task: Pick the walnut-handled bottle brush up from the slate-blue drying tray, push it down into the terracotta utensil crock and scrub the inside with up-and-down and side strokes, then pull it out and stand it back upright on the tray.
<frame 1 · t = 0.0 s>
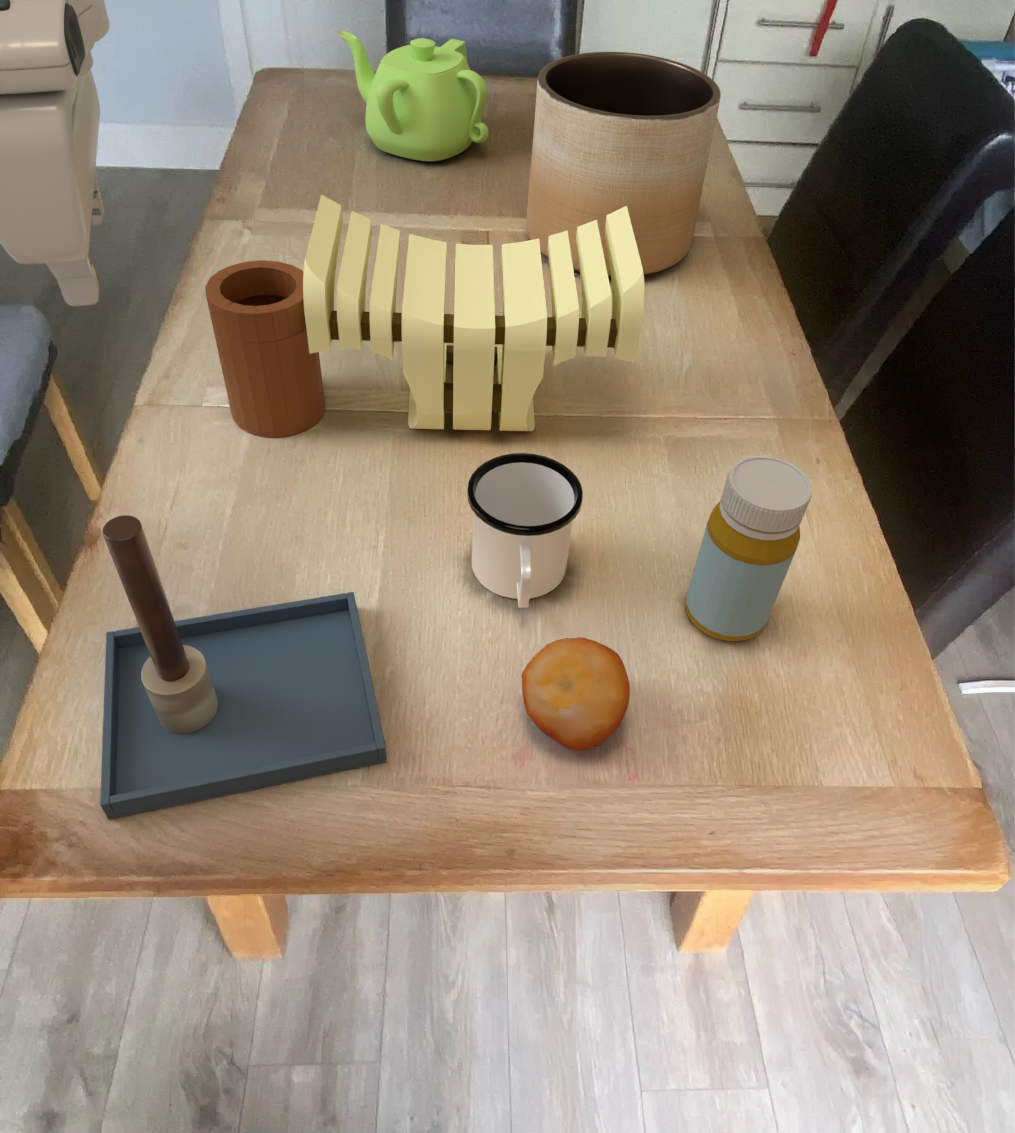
hand: (87, 258, 54), 30 cm above the table, tool pointing down, fingers open, 8 cm apart
teapot: (415, 142, 141), on the table
planter: (607, 243, 122), on the table
drying tray: (244, 702, 69), on the table
slatted curved stool: (471, 398, 96), on the table
mug: (519, 577, 79), on the table
fruit: (571, 718, 69), on the table
bottle brush: (188, 709, 67), resting on drying tray
terracotta utensil crock: (278, 408, 93), on the table
bottle: (723, 615, 77), on the table
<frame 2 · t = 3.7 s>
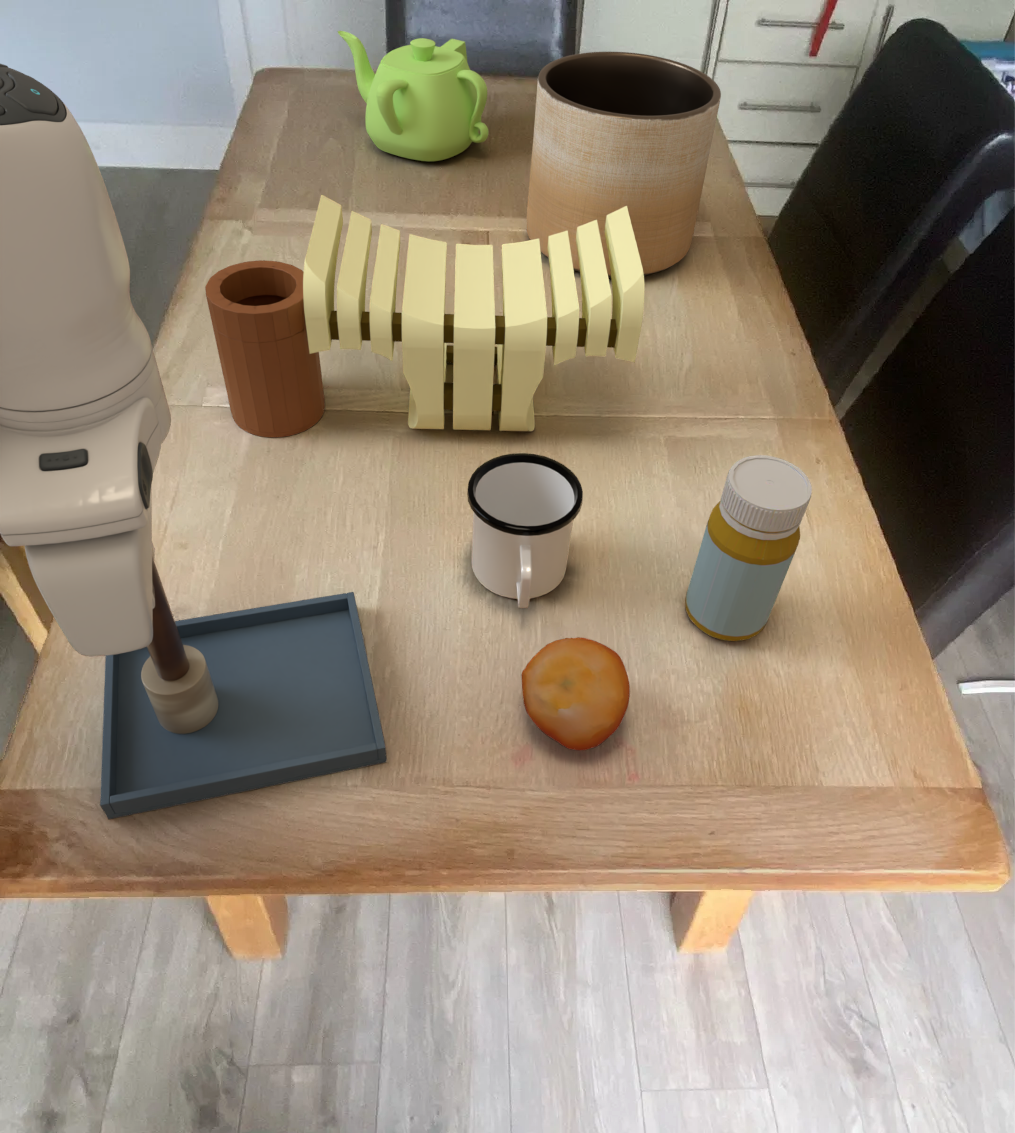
hand: (141, 582, 57), 15 cm above the table, tool pointing down, fingers closed on bottle brush, 2 cm apart
bottle brush: (188, 709, 67), point 1 cm above the table, touching drying tray, gripper
everything else where it was.
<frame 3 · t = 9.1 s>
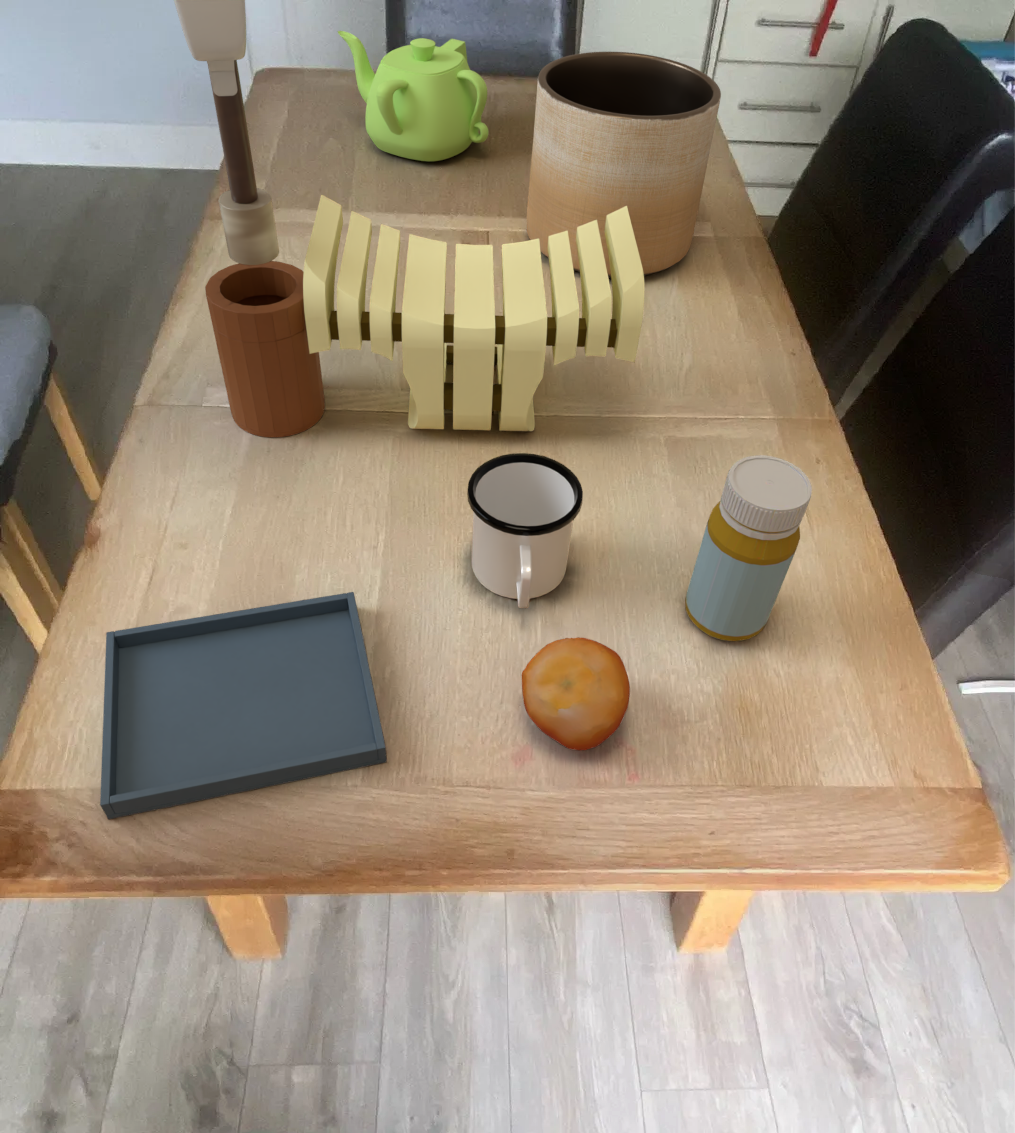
hand: (224, 84, 70), 31 cm above the table, tool pointing down, fingers closed on bottle brush, 2 cm apart
bottle brush: (254, 252, 81), point 17 cm above the table, touching gripper
everything else where it was.
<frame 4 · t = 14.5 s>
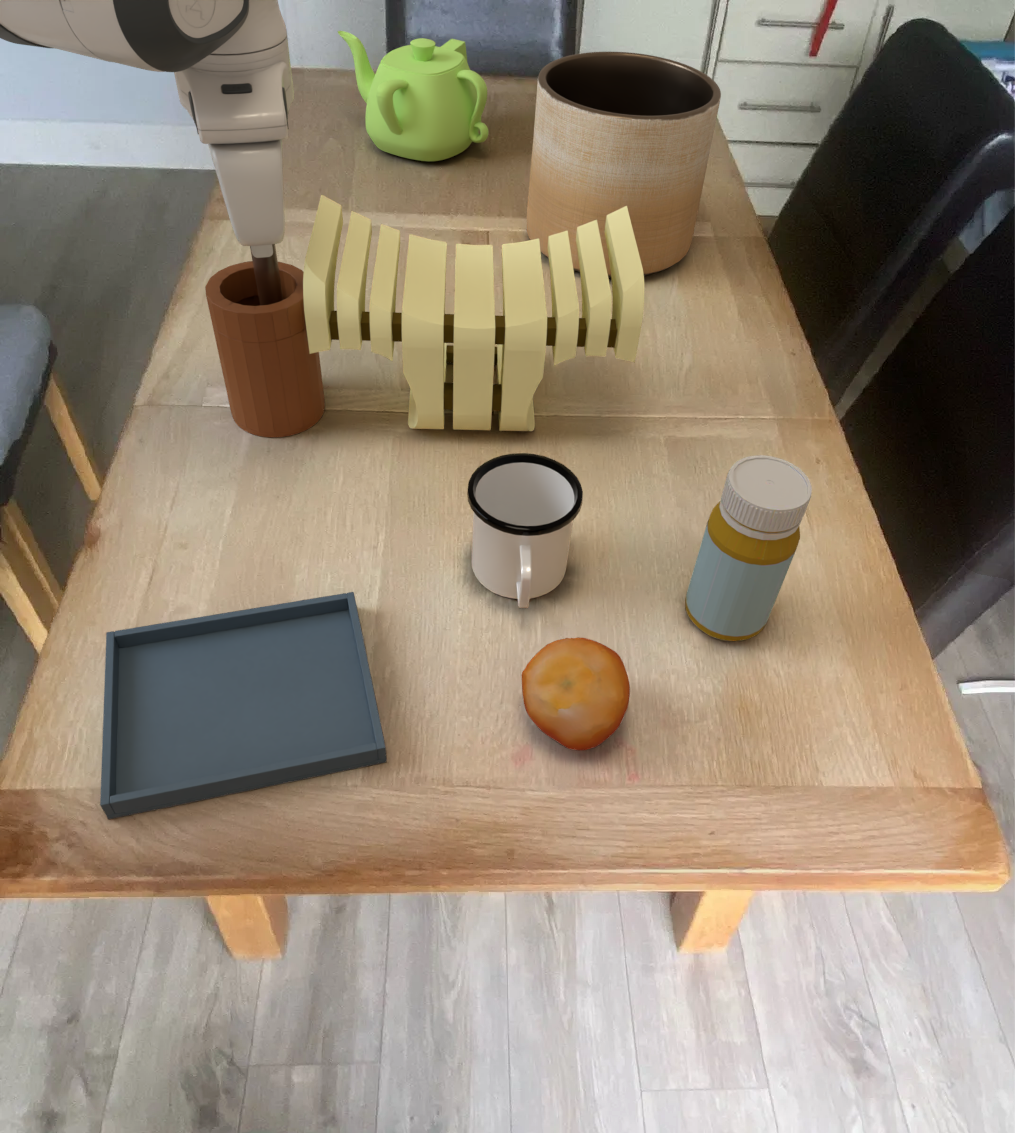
hand: (261, 243, 80), 18 cm above the table, tool pointing down, fingers closed on bottle brush, 2 cm apart
bottle brush: (283, 375, 91), point 4 cm above the table, touching gripper
everything else where it was.
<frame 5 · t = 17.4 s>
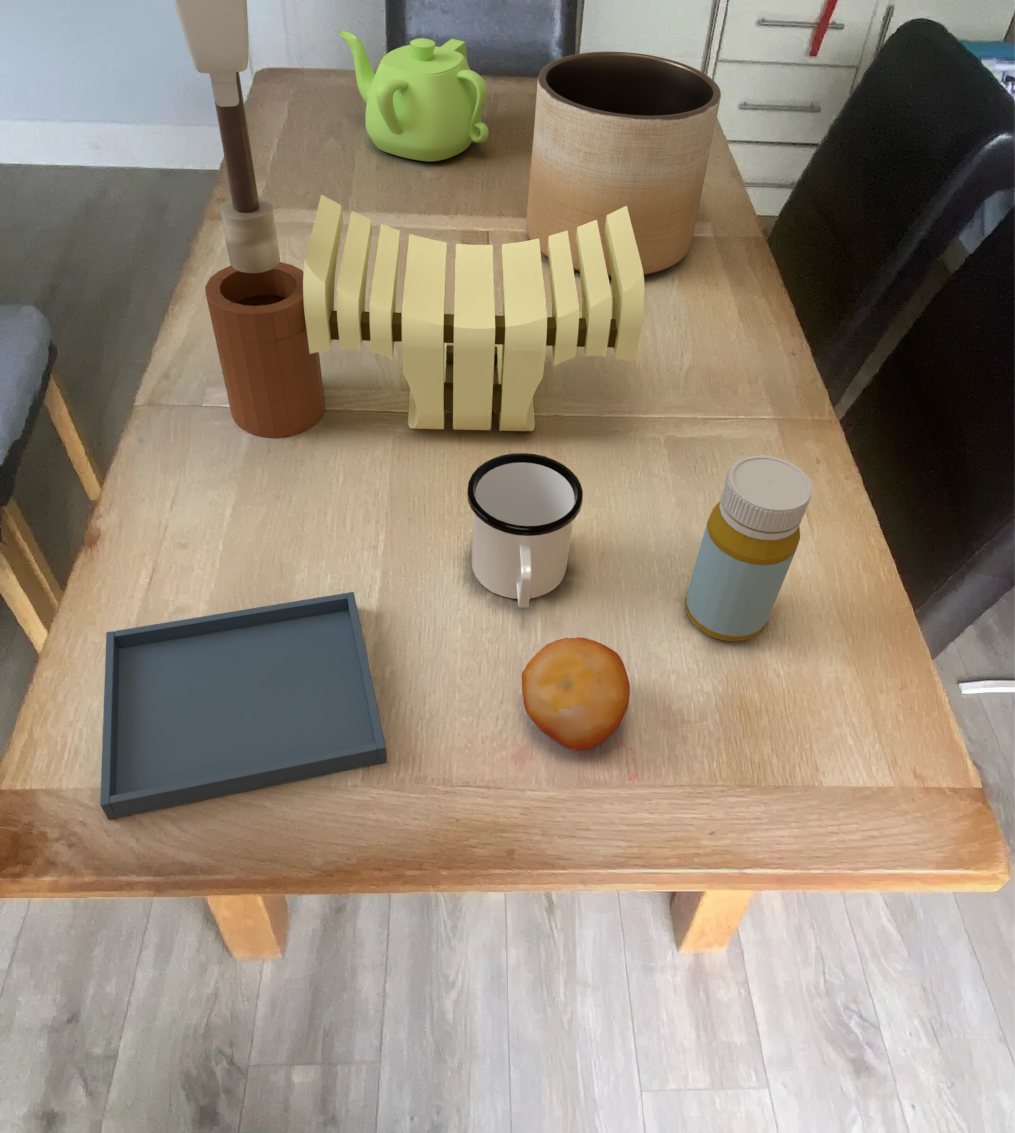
hand: (226, 94, 71), 31 cm above the table, tool pointing down, fingers closed on bottle brush, 2 cm apart
bottle brush: (255, 261, 81), point 16 cm above the table, touching gripper
everything else where it was.
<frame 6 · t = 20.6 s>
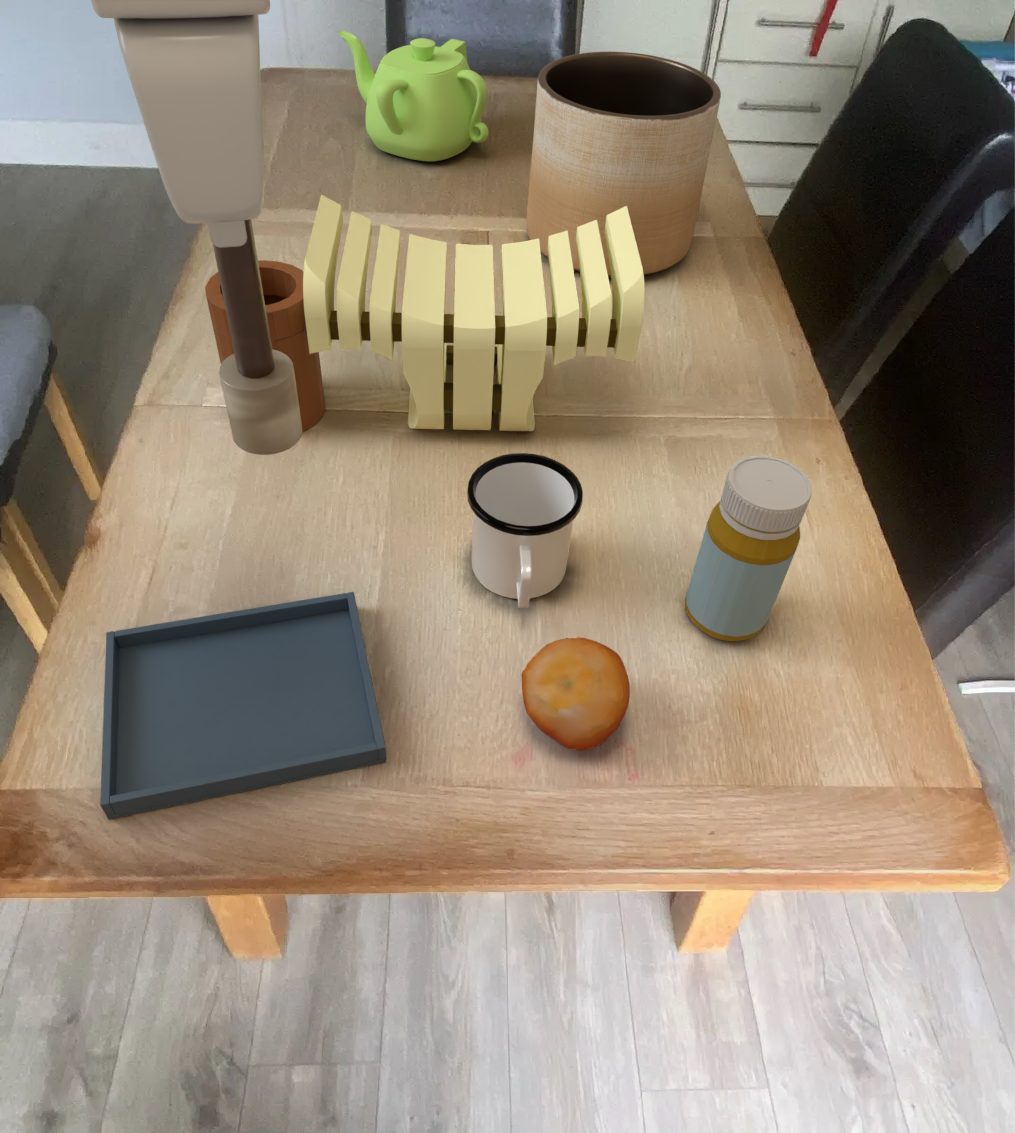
hand: (227, 224, 48), 35 cm above the table, tool pointing down, fingers closed on bottle brush, 2 cm apart
bottle brush: (267, 433, 58), point 21 cm above the table, touching gripper
everything else where it was.
when the fingers open (14 cm above the table, at t = 25.5 s): bottle brush stays where it is, resting on drying tray.
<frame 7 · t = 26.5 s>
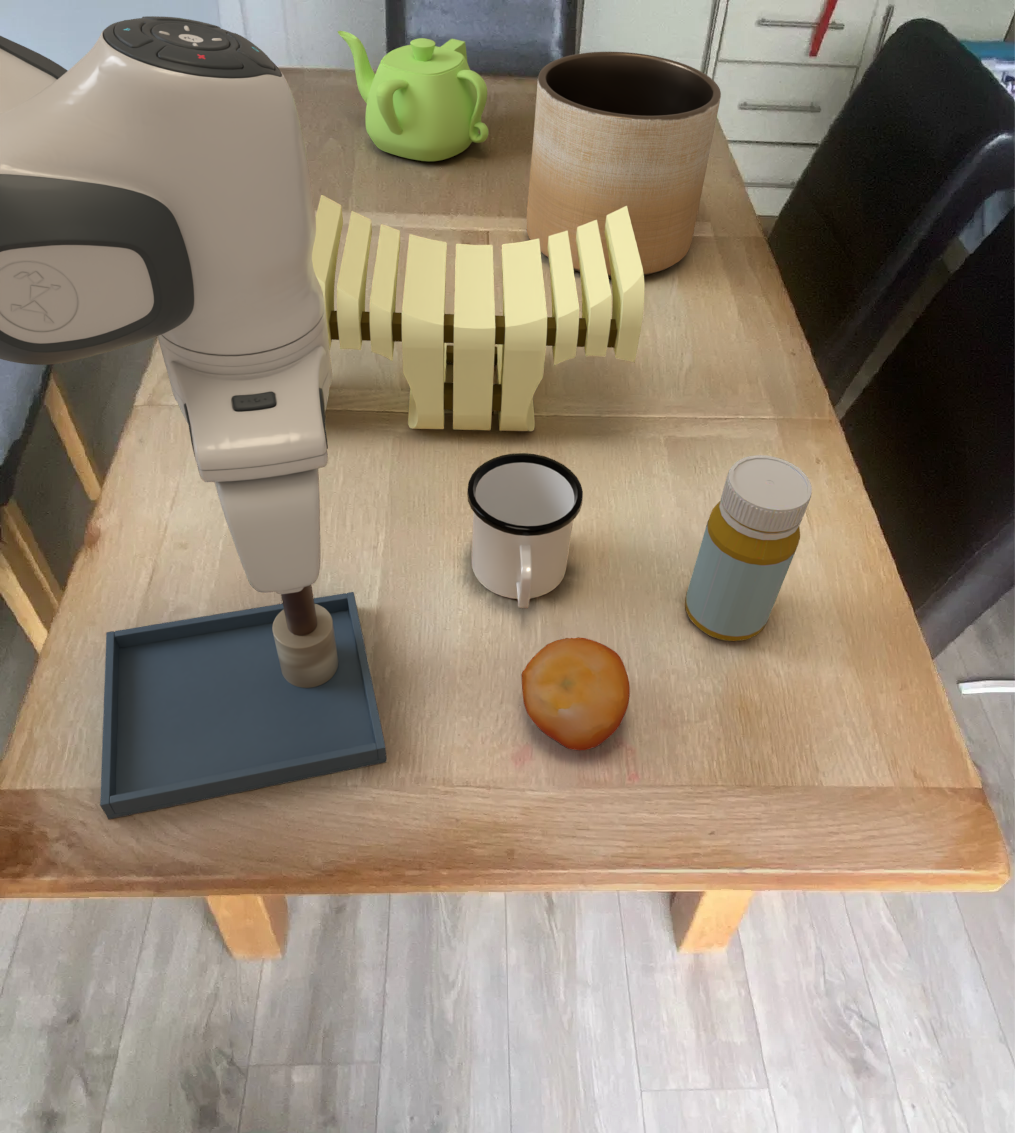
hand: (281, 533, 60), 15 cm above the table, tool pointing down, fingers open, 8 cm apart
bottle brush: (309, 665, 71), resting on drying tray
everything else where it was.
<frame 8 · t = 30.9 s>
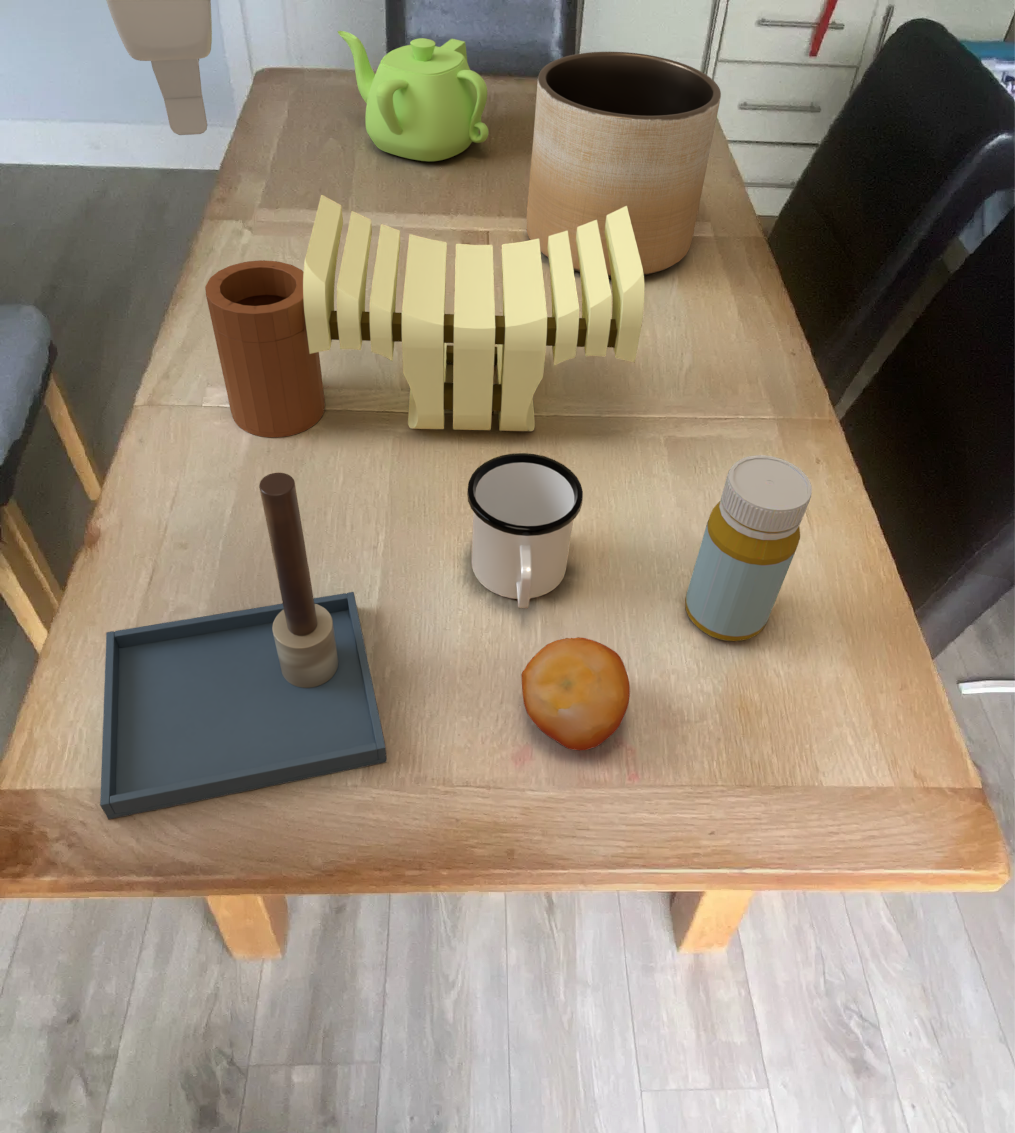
hand: (187, 94, 49), 39 cm above the table, tool pointing down, fingers open, 8 cm apart
nothing on the table moved.
at the end: bottle brush inside the target area in the drying tray (5.6 cm from its centre), point 0.5 cm above the drying tray's base; bottle brush tilted 0°; bottle brush touching drying tray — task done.
